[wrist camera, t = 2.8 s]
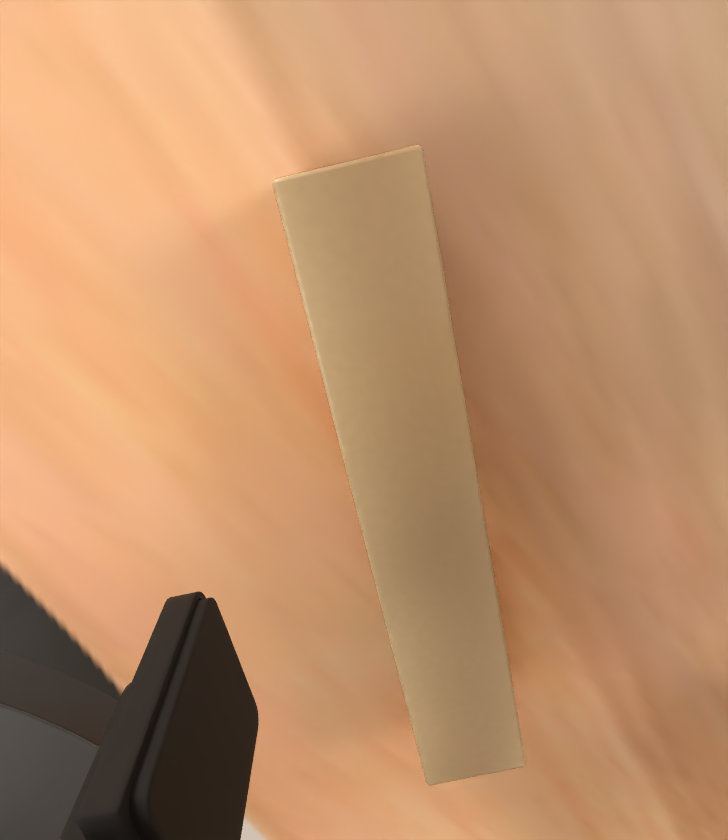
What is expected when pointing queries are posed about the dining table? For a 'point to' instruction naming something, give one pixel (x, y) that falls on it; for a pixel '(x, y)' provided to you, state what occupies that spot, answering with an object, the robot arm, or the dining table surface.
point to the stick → (407, 447)
